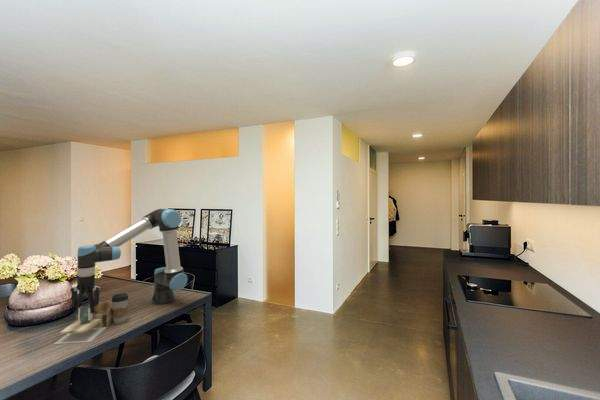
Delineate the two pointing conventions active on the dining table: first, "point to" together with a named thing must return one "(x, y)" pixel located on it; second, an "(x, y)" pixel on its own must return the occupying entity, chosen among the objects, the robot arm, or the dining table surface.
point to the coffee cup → (119, 308)
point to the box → (102, 314)
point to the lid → (81, 323)
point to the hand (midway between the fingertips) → (85, 319)
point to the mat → (81, 336)
